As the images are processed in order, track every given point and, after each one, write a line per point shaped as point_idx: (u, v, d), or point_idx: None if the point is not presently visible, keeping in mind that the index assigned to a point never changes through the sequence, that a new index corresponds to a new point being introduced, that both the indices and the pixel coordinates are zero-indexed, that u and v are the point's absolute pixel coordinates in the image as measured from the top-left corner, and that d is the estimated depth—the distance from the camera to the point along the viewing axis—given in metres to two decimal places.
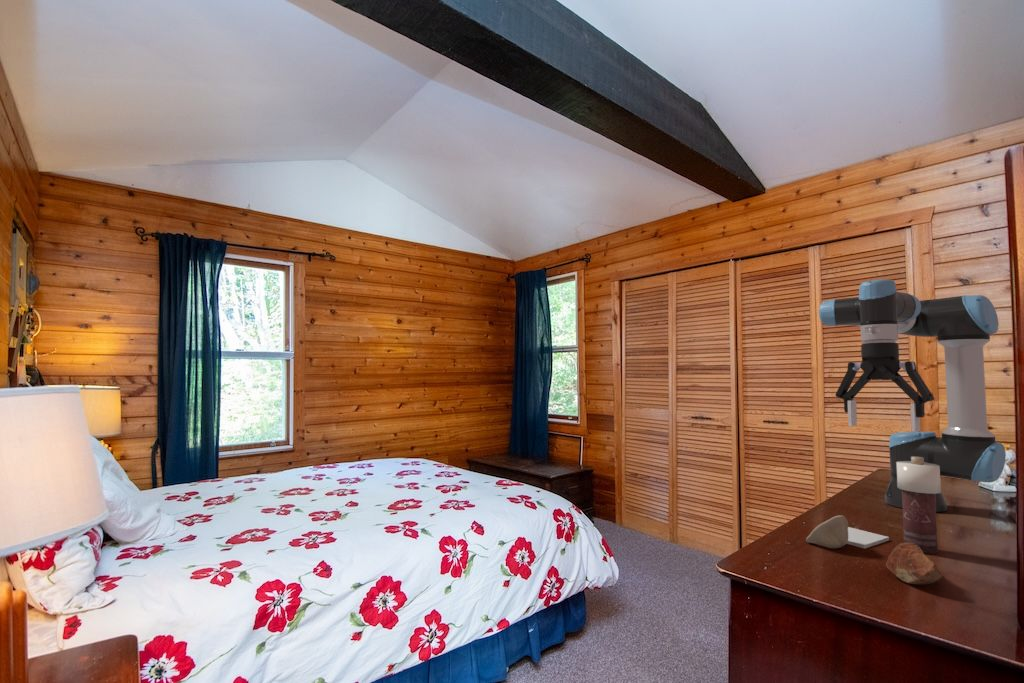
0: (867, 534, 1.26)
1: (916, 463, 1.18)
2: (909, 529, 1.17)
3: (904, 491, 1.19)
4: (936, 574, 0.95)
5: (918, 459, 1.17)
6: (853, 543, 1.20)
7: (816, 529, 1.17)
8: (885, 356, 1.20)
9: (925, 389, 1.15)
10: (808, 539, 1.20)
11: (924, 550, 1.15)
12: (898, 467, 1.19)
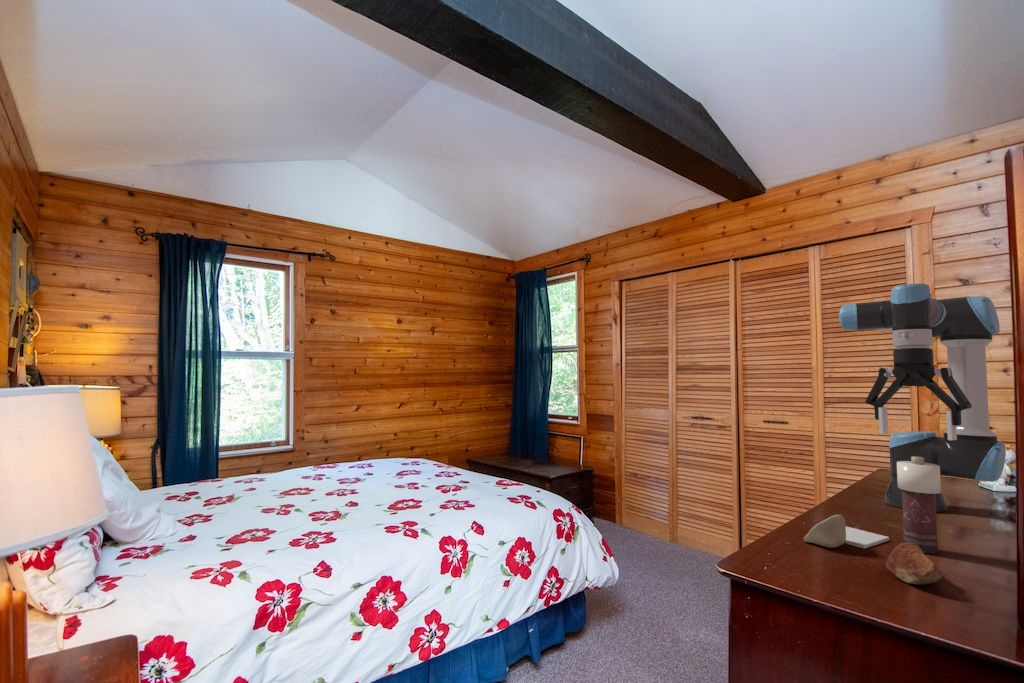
0: (867, 534, 1.26)
1: (916, 463, 1.18)
2: (909, 529, 1.17)
3: (904, 491, 1.19)
4: (936, 574, 0.95)
5: (918, 459, 1.17)
6: (853, 543, 1.20)
7: (814, 528, 1.18)
8: (919, 362, 1.17)
9: (962, 396, 1.11)
10: (806, 538, 1.21)
11: (924, 550, 1.15)
12: (898, 467, 1.19)
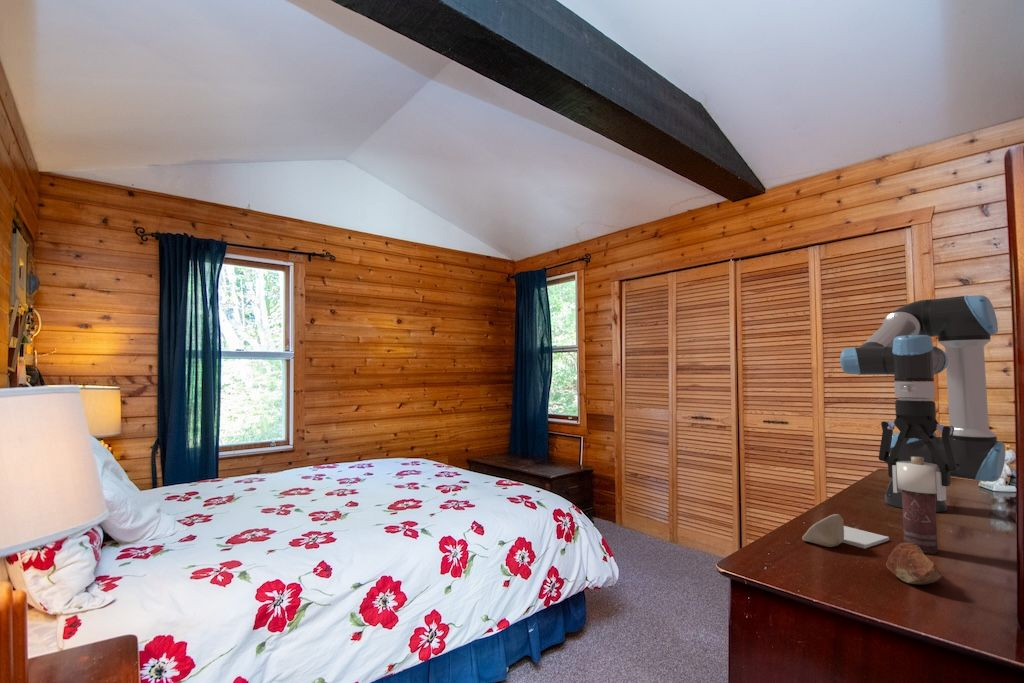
0: (867, 534, 1.26)
1: (916, 463, 1.18)
2: (909, 529, 1.17)
3: (904, 491, 1.19)
4: (936, 574, 0.95)
5: (918, 459, 1.17)
6: (853, 543, 1.20)
7: (812, 528, 1.18)
8: (922, 415, 1.16)
9: (955, 458, 1.12)
10: (804, 537, 1.21)
11: (924, 550, 1.15)
12: (898, 467, 1.19)
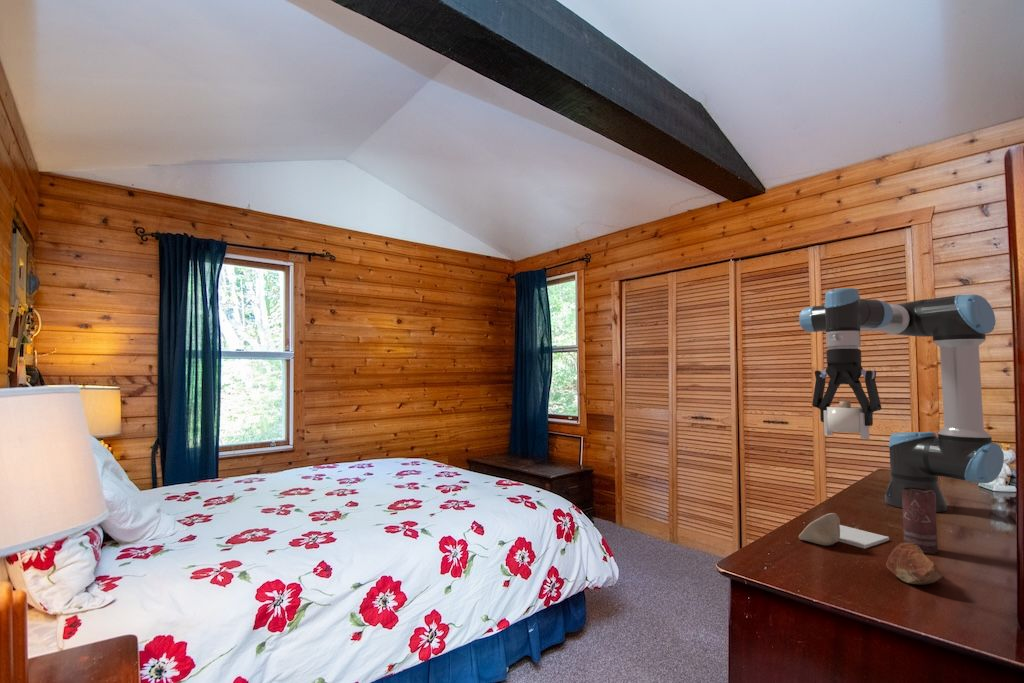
0: (867, 534, 1.26)
1: (843, 407, 1.27)
2: (909, 529, 1.17)
3: (904, 491, 1.19)
4: (936, 574, 0.95)
5: (845, 403, 1.27)
6: (853, 543, 1.20)
7: (808, 526, 1.19)
8: (848, 361, 1.25)
9: (876, 399, 1.21)
10: (801, 536, 1.22)
11: (924, 550, 1.15)
12: (827, 411, 1.29)
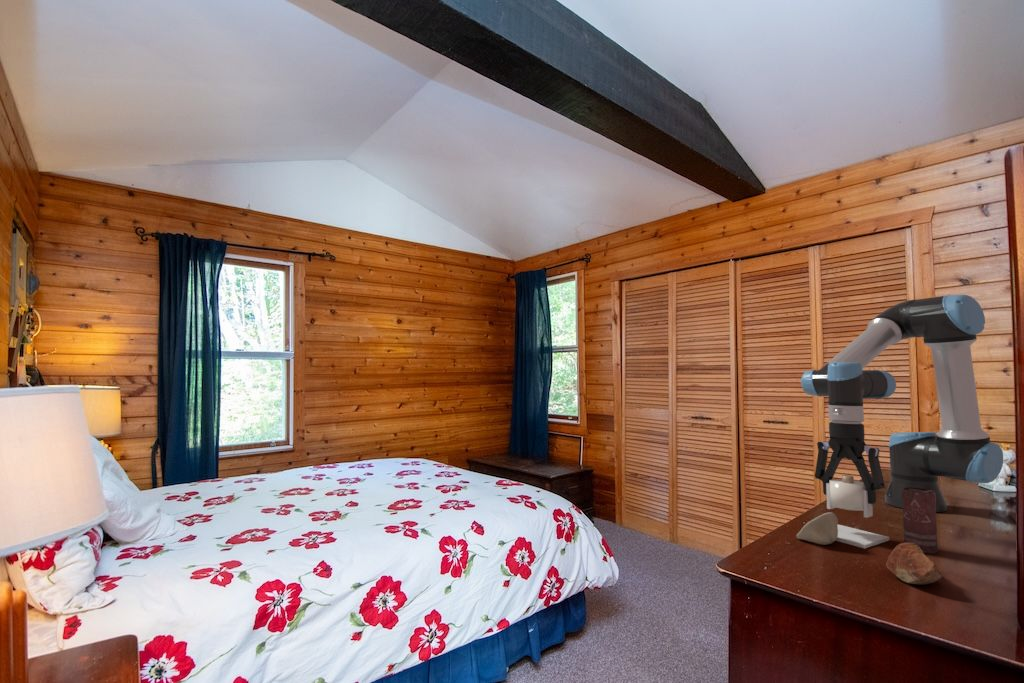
0: (867, 534, 1.26)
1: (846, 482, 1.26)
2: (909, 529, 1.17)
3: (904, 491, 1.19)
4: (936, 574, 0.95)
5: (848, 478, 1.26)
6: (853, 543, 1.20)
7: (806, 526, 1.20)
8: (851, 437, 1.24)
9: (879, 478, 1.20)
10: (799, 535, 1.23)
11: (924, 550, 1.15)
12: (830, 485, 1.28)
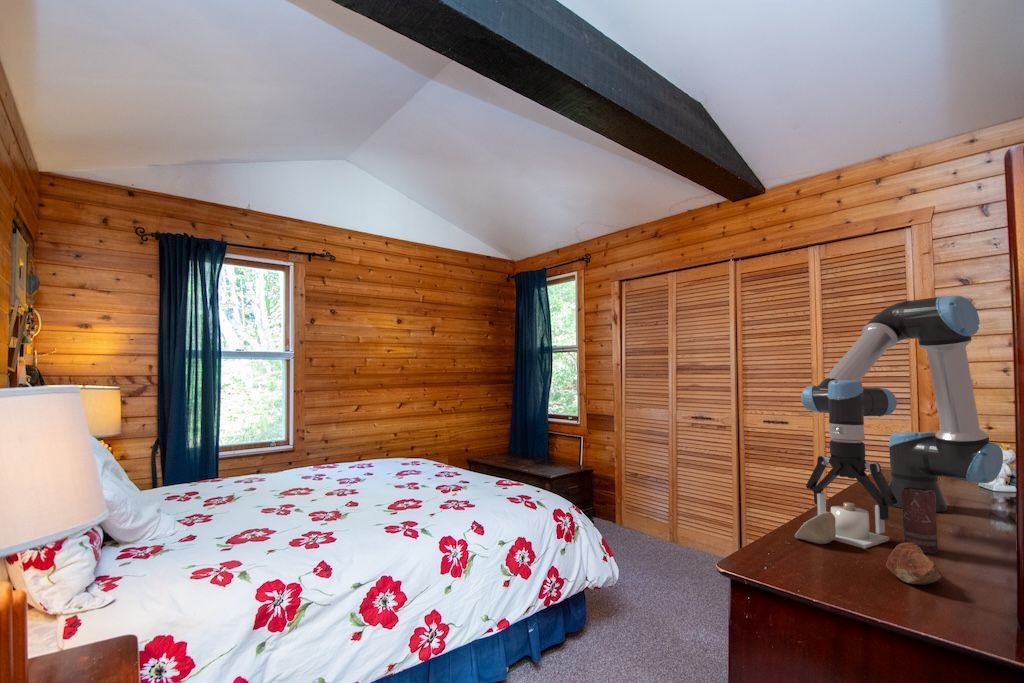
0: None
1: (847, 510, 1.26)
2: (909, 529, 1.17)
3: (904, 491, 1.19)
4: (936, 574, 0.95)
5: (849, 506, 1.25)
6: (853, 543, 1.20)
7: (804, 525, 1.20)
8: (851, 456, 1.24)
9: (889, 493, 1.19)
10: (797, 534, 1.23)
11: (924, 550, 1.15)
12: (831, 512, 1.27)
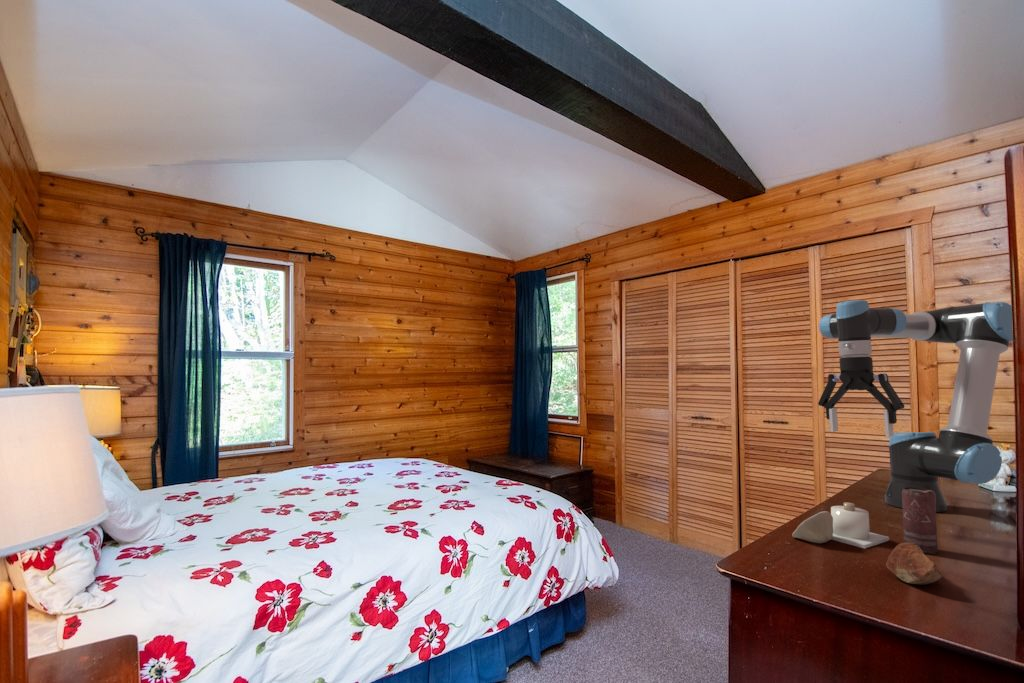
0: None
1: (847, 510, 1.25)
2: (909, 529, 1.17)
3: (904, 491, 1.19)
4: (936, 574, 0.95)
5: (849, 506, 1.25)
6: (853, 543, 1.20)
7: (801, 524, 1.21)
8: (861, 369, 1.34)
9: (896, 398, 1.29)
10: (794, 534, 1.24)
11: (924, 550, 1.15)
12: (831, 512, 1.27)
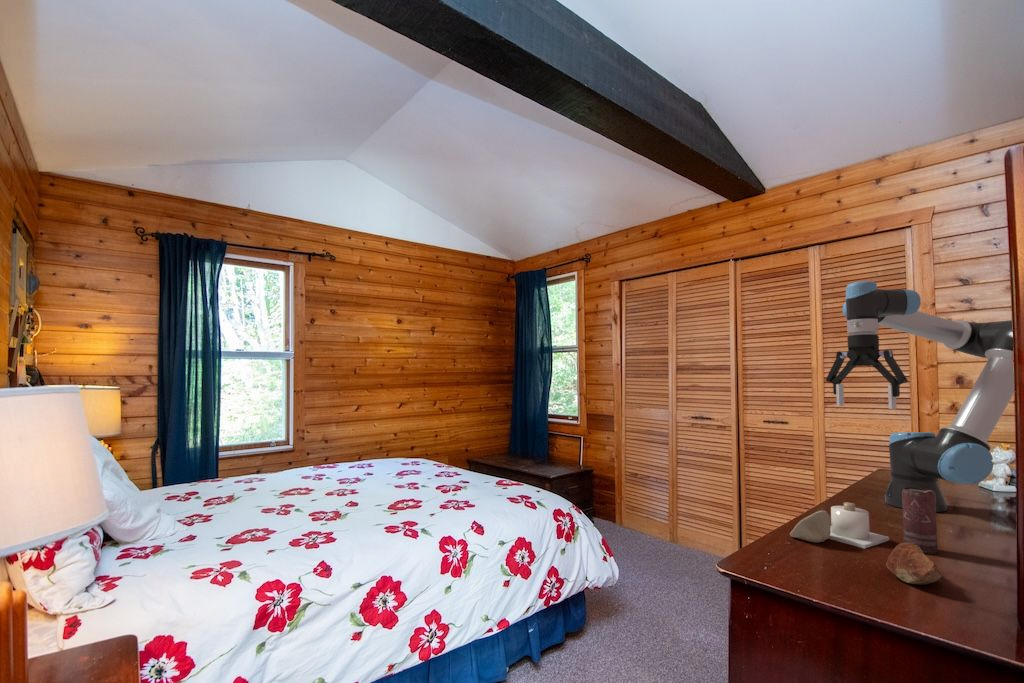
0: None
1: (847, 510, 1.25)
2: (909, 529, 1.17)
3: (904, 491, 1.19)
4: (936, 574, 0.95)
5: (849, 506, 1.25)
6: (853, 543, 1.20)
7: (799, 524, 1.22)
8: (867, 346, 1.42)
9: (900, 373, 1.37)
10: (792, 533, 1.24)
11: (924, 550, 1.15)
12: (831, 512, 1.27)
